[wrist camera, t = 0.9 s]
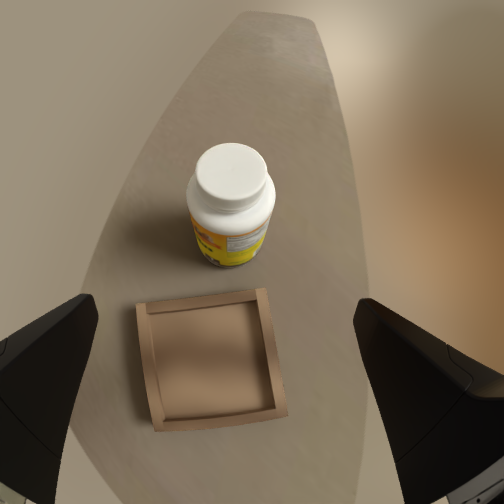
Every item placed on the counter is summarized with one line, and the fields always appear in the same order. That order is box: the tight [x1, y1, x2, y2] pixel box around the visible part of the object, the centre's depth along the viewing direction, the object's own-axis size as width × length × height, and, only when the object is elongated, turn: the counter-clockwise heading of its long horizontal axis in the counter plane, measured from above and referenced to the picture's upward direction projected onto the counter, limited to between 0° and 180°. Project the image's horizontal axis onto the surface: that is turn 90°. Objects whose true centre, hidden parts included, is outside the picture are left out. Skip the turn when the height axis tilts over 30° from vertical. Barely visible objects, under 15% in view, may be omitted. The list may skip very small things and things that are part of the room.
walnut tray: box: [136, 288, 288, 432], centre depth 20 cm, size 10×10×2 cm
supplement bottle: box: [186, 143, 275, 268], centre depth 20 cm, size 6×6×10 cm
